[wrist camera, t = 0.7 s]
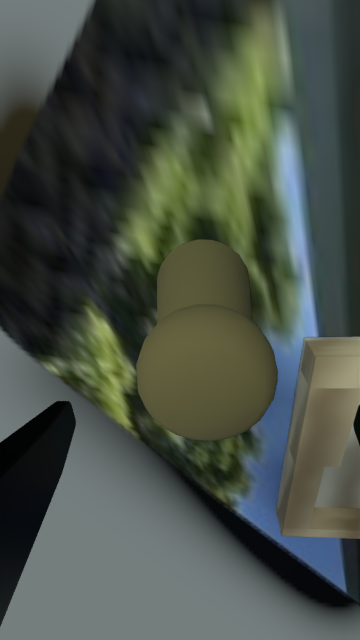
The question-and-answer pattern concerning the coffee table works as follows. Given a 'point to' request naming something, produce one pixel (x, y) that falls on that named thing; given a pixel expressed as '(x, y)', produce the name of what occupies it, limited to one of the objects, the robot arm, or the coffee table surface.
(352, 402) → the keyhole plate
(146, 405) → the cork
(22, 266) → the coffee table surface
